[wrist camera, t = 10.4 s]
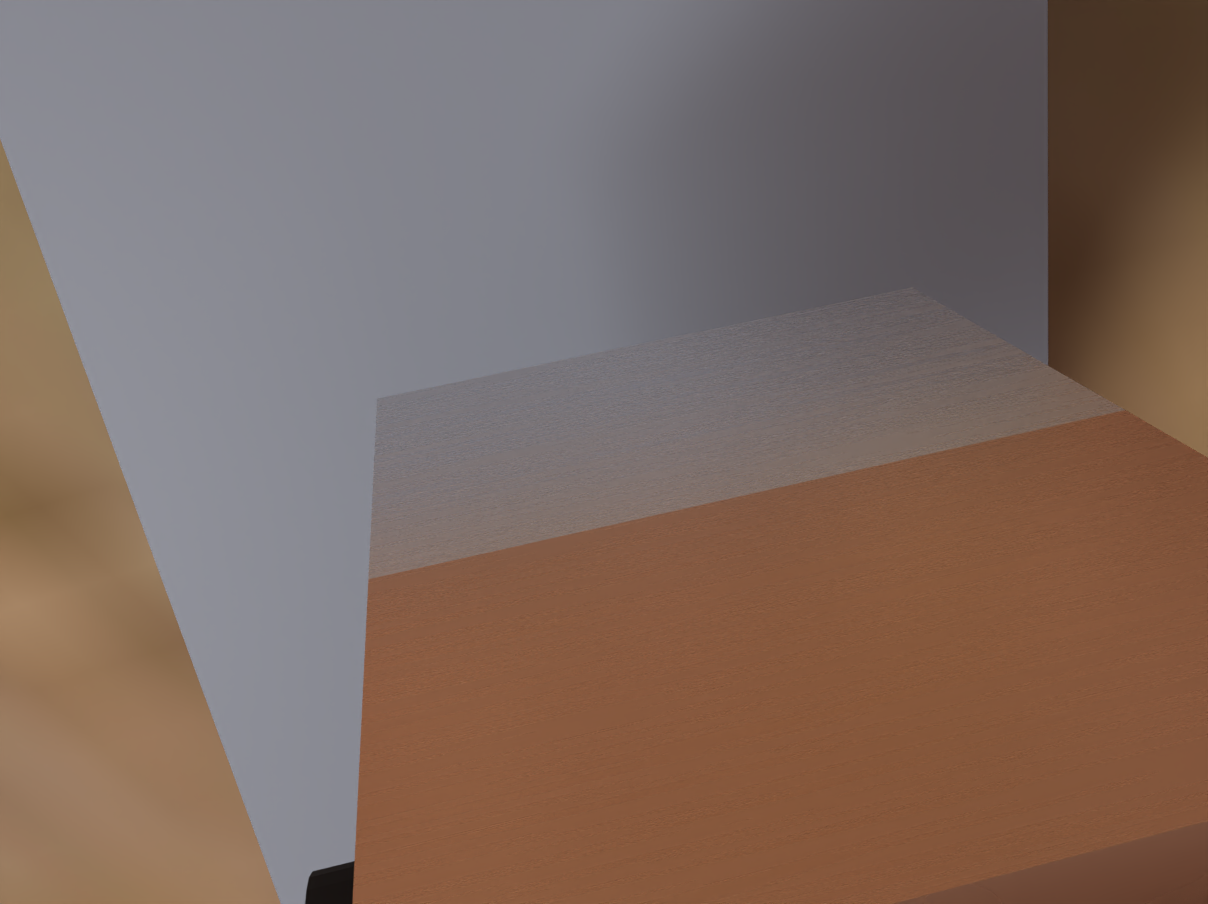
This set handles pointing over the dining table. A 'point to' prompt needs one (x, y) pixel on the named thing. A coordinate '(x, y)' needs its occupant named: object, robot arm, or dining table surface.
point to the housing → (784, 628)
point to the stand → (464, 258)
